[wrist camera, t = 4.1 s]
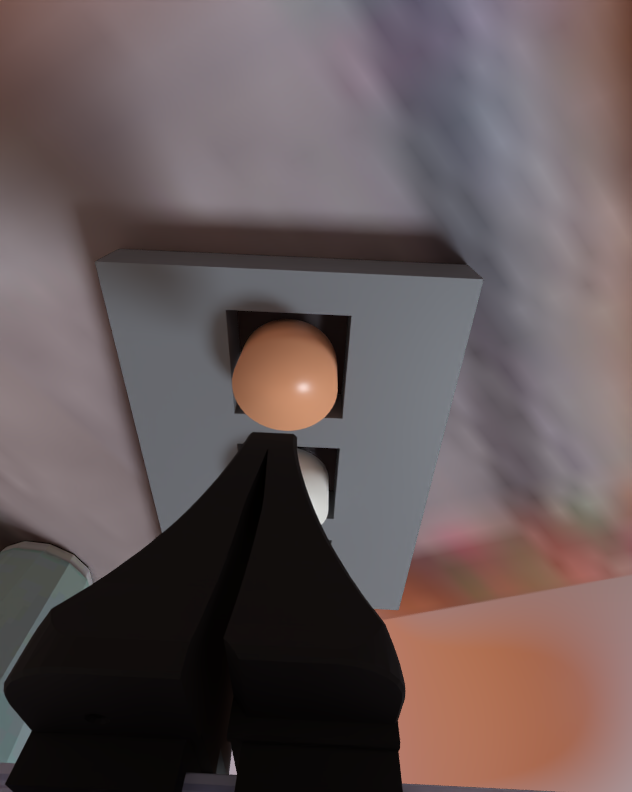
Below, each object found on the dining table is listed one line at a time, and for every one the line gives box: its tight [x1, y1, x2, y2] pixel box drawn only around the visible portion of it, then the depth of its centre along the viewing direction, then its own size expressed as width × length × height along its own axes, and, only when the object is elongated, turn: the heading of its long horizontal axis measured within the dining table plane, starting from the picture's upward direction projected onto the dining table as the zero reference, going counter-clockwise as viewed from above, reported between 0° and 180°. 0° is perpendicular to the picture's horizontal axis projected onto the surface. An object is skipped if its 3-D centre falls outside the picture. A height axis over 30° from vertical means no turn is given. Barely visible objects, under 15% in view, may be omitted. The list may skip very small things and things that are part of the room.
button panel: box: [95, 249, 484, 610], centre depth 21 cm, size 14×21×2 cm, turn 178°
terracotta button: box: [232, 319, 338, 431], centre depth 16 cm, size 4×4×2 cm
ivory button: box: [297, 448, 329, 525], centre depth 20 cm, size 4×4×2 cm
